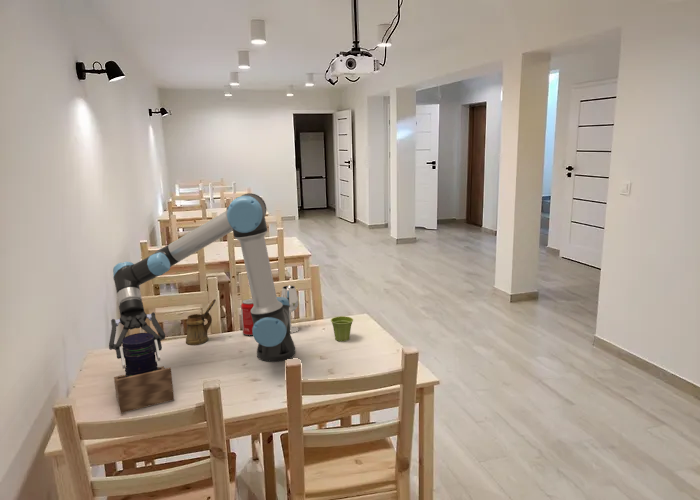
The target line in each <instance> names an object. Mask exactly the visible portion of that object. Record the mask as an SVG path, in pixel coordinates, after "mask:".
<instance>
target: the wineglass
mask: <svg viewBox="0 0 700 500" xmlns="http://www.w3.org/2000/svg"><path fill="white" fill-rule="evenodd" d="M280 297H284V298H287V299H288V300H289V305H290V306H289V315H290V334H294V333H293V332H295V333H297V332H299V331H298V328H299V327H297V326H292V313H293V312H295V310H297V308H298V305H299V297H298V292H297V289H296V286H295V285H285V286H282V288H281V295H280ZM296 327H297V328H296ZM296 331H297V332H296Z"/></svg>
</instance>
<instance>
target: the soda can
mask: <svg viewBox="0 0 700 500" xmlns="http://www.w3.org/2000/svg"><path fill="white" fill-rule="evenodd" d="M253 306H254V304H253V300H252V298H248V299H244V300H242V303H241V305H240V312H241V327H242V333H243V334H244V335H246V336H248V335H249V337H250V335H253V332H252V331H253V330H252V329H253V326H254V325H253V320H252V316H251V309H252V308H253Z"/></svg>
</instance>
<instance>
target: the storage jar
mask: <svg viewBox="0 0 700 500" xmlns="http://www.w3.org/2000/svg"><path fill="white" fill-rule="evenodd" d="M121 346H122V348H123V354H124V360H125V368H124V372H125V373H124V375H125V374H126V377H129V376H134V375H138V374H143V373H147V372H152V371H156V370H158V367H159V366H158V361H156V359H157V357H156V349H155V341H154V335H153V334H151V333H147V332H137V333H132V334H130V335H127V336H125V338H123V339H122V345H121Z"/></svg>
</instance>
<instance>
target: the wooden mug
mask: <svg viewBox="0 0 700 500" xmlns="http://www.w3.org/2000/svg"><path fill="white" fill-rule="evenodd" d="M215 303H216V299H213V300H212V301H211V302H210V304H209V305H208V307H207V308H206V310H205V312H203V313H201V314H200V313H194V314H190V315H187V319H186V325H187V326H186V338H185V343H186V344H187V345H189V346H197V345H202V344H205V343H206V342H208V340H209V335H208V330H209V329H210V327H211V325H212V321H213V319H212V318H213V317H212V315H211V314H210V313H209V312H210V311H211V309H212V308H213V306H214V305H215ZM206 321H207V323H206V324H205V322H206Z"/></svg>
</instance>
